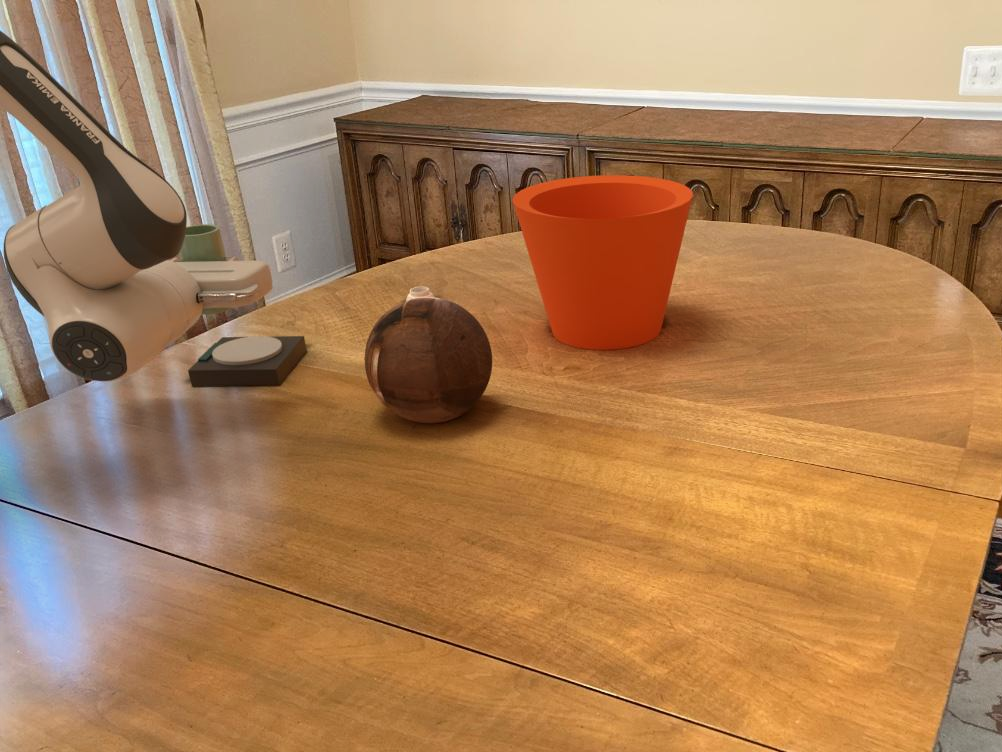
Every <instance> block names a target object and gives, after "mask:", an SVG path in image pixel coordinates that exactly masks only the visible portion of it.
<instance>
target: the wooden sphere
mask: <svg viewBox="0 0 1002 752" xmlns="http://www.w3.org/2000/svg"><path fill="white" fill-rule="evenodd" d="M364 368H365V369H364V370H365V374H366V379H367V381H368V384H369V386H370V388H371V390H372V391H373V393H374V395H375V396H376V397H377V399H378V400H379V401H380V403H381V404H383V406H384V407H386V408H387V409H388V410H389V411H391V412H392V413H394V414H395V415H396V416H399V417H400V418H402V419H405V420H408V421H411V422H414V423H420V424H438V423H444V422H448V421H451V420H454V419H456V418H459V417H460V416H462V415H464V414H465V413H466V412H467V413H468V411H470V410H471V409H472V408H473V407H474V406H475V405H476V404H477V403H478V402H479V401H480V399H481V398H482V397H483V395H484V393H485V391H486V389H487V387H488V385H489V383H490V380H491V377H492V372H493V371H492V370H493V351H492V346H491V343H490V340H489V337H488V335H487V333H486V331H485V329H484V327H483V326H482V325H481V323H480V322H479V321H478V319H477V318H476V317H475V316H474V315H473V314H472V313H471V312H469V311H468V310H467V309H466V308H464V307H463V306H461V305H459V304H457V303H455V302H453V301H451V300H448V299H444V298H440V297H436V296H434V297H420V298H414V299H410V300H407V301H406V300H404V301H402V302H399V303H398V304H396V305H394V306H393V307H391V308H390V309H388V310H387V311H386V312H384V313H383V314H382V315H381V316H380V318H379V319H378V320H377V321H376V323H375V324H374V326H373V327H372V329H371V331H370V333H369V335H368V338H367V341H366V344H365V350H364Z"/></svg>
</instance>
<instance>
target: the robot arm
mask: <svg viewBox="0 0 1002 752" xmlns="http://www.w3.org/2000/svg"><path fill="white" fill-rule="evenodd" d="M0 109H1V110H2V111H5V112H6V113H8V114H9V115H11V116H12V117H13V118H14V119H15V120H17V121H18V122H19V123H20V124H21V125H22V126H23V127H24V128H25V129H26V130H27V131H28V132H30V133H31V135H33V136H34V138H36V139H37V140H38V141H39V142H40V143H41V144H42V145H43V146H44V147H45V148H46V149H47V150H48V151H49V152H50V153H52V154H53V156H55V157H56V158H57V159H58V160H59V161H60V162H61V163H62V164H63V165H64V166H66V167H67V169H68V170H70V171H71V172H72V173H73V174H74V175H75V176H76V177H77V179H78V181H79V184H80V185H78V186H77V187H75V188H73V189H72V190H70V191H69V192H67V193H65V194H63V195H62V196H61V197H59V198H57V199H56V200H54V201H52V202H50V203H49V204H48V205H44V206H42V207H41V208H39V209H37V210H36V211H34V212H32V213H31V214H30V215H28V216H26V217H25V218H23V219H21V220H20V221H18V222H17V223H15V224H14V225H12V226H10V227H9V228H8V230H7V231H6V233H5V236H4V240H3V260H4V264H5V267H6V271H7V273H8V276H9V278H10V281H11V282H12V284H13V285H14V287H15V288H16V290H17V291H18V292H19V294H20V295H21V296H22V298H23V299H24V300H25V301H26V302H27V303H28V304H29V305H30V306H31V307H32V308H33V309H34V310H36V311H37V312H38V313H39V314H40V315H42V316H43V317H44V318H45V320H46V323H47V327H48V340H49V345H50V348H51V352H52V353H53V355H54V357H55V358H56V360H57V361H58V362H59V364H60V365H61V366H62V367H63V368H65V369H66V370H67V371H68V372H70V373H71V374H72V375H75V376H77V377H79V378H81V379H85V380H89V381H92V382H93V381H94V382H112V381H113V382H114V381H118V380H122V379H124V378H128V377H129V376H131V375H133V374H135V373H136V372H138V371H140V370H141V369H143V368H145V366H147V365H148V364H149V363H151V362H152V361H154V360H155V359H156V358H157V357H159V356H160V355H161V354H162V353H163V352H164V351H165V349H166V348H167V346H169V345H170V344H173V343H174V342H176V341H177V340H178V339H179V338H180V337H182V336H183V334H185V333H186V332H187V331H188V330H190V329H191V328H192V327H193V326H194V325H195V324H196V323H197V322H198V321H199V319H200V318H201V316H202V314H201V313H202V310H203V308H232V309H235V308H242V307H246V306H249V305H252V304H254V303H255V302H258V301H259V300H261V299H262V298H264V297H265V296H266V295H268V294H269V293H270V292H272V290H273V287H274V286H273V277H272V272H271V268H270V265H269V264H268V263H267V262H265V261H264V260H239V257H238V256H226V257H225V258H224V259H223V260H221V261H204V262H181V259H180V257H177V256H178V255H179V252H180V250H181V248H182V245H183V242H184V238H185V233H186V227H187V224H188V223H187V222H188V220H187V219H188V216H187V209H186V206H185V203H184V201H183V200H182V198H181V196H180V195H179V193H178V192H177V190H176V189H175V188H174V187H173V186H172V185H171V184H170V182H169V181H167V180H166V179H165V178H164V177H163V176H162V175H161V174H160V173H158V172H157V171H155V170H154V169H153V168H152V167H151V166H149V165H148V164H146V163H145V162H144V161H142V160H141V159H140V158H138V157H137V156H136V155H135V154H133V153H132V152H131V151H129V150H128V149H127V147H125V145H123V144H122V143H121V142H120V141H119V140H118V139H117V138H116V137H115V136H114V135H113V134H112V133H111V132H109V130H107V128H105V126H103V124H102V123H100V122H99V121H98V120H97V119H96V118H95V116H93V114H91V113H90V112H89V111H88V110H87V109H86V108H85V107H84V106H83V105H82V104H81V103H80V102H79V101H78V100H77V99H76V98H75V97H74V96H73V95H72V94H71V93H70V92H68V90H67V89H66V88H64V86H62V85H61V84H60V83H59V82H58V80H57V79H56V78H54V77H53V75H51V74H50V72H48V71H47V70H46V69H45V68H44V67H43V66H42V65H41V64H40V63H39V62H38V61H37V60H36V59H34V58H33V57H32V55H30V54H29V53H28V52H27V51H26V50H25V49H23V48H22V47H21V46H20V45H19V44H18V43H16V41H14V40H13V39H12V38H10V37H9V36H8V35H7V34H6V33H4V32H3V31H2V30H0Z"/></svg>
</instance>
